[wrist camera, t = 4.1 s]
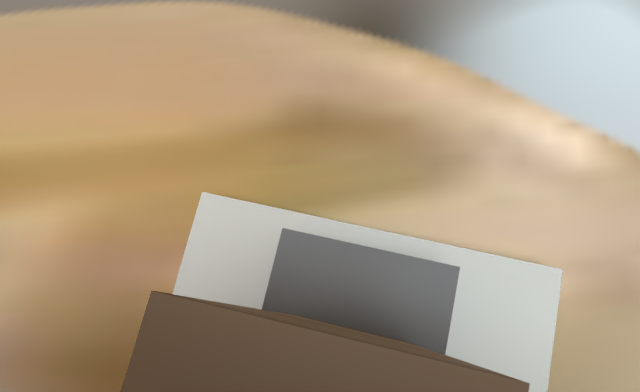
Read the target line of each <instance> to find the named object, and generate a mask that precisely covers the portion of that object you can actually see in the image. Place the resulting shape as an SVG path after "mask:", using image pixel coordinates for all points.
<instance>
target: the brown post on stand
mask: <svg viewBox="0 0 640 392" xmlns="http://www.w3.org/2000/svg"><path fill="white" fill-rule="evenodd" d="M459 271H460V267H458V266H453V265H449V264H444V263H440V262H435V261H431V260H426V259H422V258H417V257H412V256H408V255H403V254H399V253H394V252H390V251H385V250H381V249H376V248H372V247H367V246H362V245H358V244H353V243H349V242H344V241H340V240H335V239H331V238H326V237H322V236H317V235H312V234H308V233H303V232H299V231H294V230H290V229H285V228H282V231H281V235H280V239H279V243H278V247H277V251H276V255H275V259H274V263H273V267H272V271H271V275H270V279H269V283H268V286H267V290H266V294H265V298H264V302H263V306H262V309H256V308H250V307H244V306H238V305H232V304H226V303H221V302H215V301H209V300H203V299H197V298H191V297H185V296H180V295H174V294H168V293H162V292H156V291H151V294H150V298H149V301H148V304H147V307H146V311H145V314H144V317H143V321H142V324H141V327H140V330H139V334H138V337H137V340H136V343H135V347H134V350H133V353H132V357H131V360H130V363H129V366H128V370H127V373H126V376H125V379H124V383H123V386H122V389H121V392H529V385H530V383H527V382H524V381H521V380H518V379H515V378H512V377H509V376H506V375H503V374H500V373H497V372H495V371H492V370H489V369H486V368H483V367H480V366H477V365H474V364H471V363H468V362H465V361H462V360H459V359H456V358H453V357H450V356H447V355H445V353H446V347H447V341H448V336H449V330H450V324H451V318H452V312H453V306H454V300H455V294H456V289H457V283H458V277H459Z"/></svg>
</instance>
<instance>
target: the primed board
mask: <svg viewBox="0 0 640 392" xmlns="http://www.w3.org/2000/svg"><path fill="white" fill-rule="evenodd" d="M282 228H285V229H290V230H294V231H299V232H303V233H308V234H312V235H317V236H322V237H326V238H331V239H335V240H340V241H344V242H349V243H353V244H358V245H362V246H367V247H372V248H376V249H381V250H385V251H390V252H394V253H399V254H403V255H408V256H412V257H417V258H422V259H426V260H431V261H435V262H440V263H444V264H449V265H453V266H458V267H460V271H459V277H458V283H457V289H456V294H455V300H454V306H453V312H452V318H451V324H450V330H449V336H448V341H447V347H446V353H445V355H447V356H450V357H453V358H456V359H459V360H462V361H465V362H468V363H471V364H474V365H477V366H480V367H483V368H486V369H489V370H492V371H495V372H497V373H500V374H503V375H506V376H509V377H512V378H515V379H518V380H521V381H524V382H527V383H530V385H529V392H547V390H548V382H549V374H550V366H551V358H552V350H553V342H554V334H555V326H556V319H557V311H558V303H559V295H560V287H561V279H562V271H563V269H558V268H554V267H549V266H544V265H540V264H535V263H530V262H526V261H521V260H516V259H512V258H507V257H503V256H498V255H493V254H489V253H484V252H479V251H475V250H470V249H465V248H461V247H456V246H451V245H447V244H442V243H437V242H433V241H428V240H424V239H419V238H414V237H410V236H405V235H400V234H396V233H391V232H386V231H382V230H377V229H372V228H368V227H363V226H358V225H354V224H349V223H345V222H340V221H335V220H331V219H326V218H321V217H317V216H312V215H307V214H303V213H298V212H293V211H289V210H284V209H279V208H275V207H270V206H266V205H261V204H256V203H252V202H247V201H242V200H238V199H233V198H228V197H224V196H219V195H214V194H210V193H205V192H202V194H201V198H200V201H199V205H198V208H197V211H196V215H195V218H194V222H193V225H192V228H191V232H190V235H189V239H188V242H187V245H186V249H185V252H184V256H183V259H182V263H181V266H180V269H179V273H178V276H177V280H176V283H175V286H174V290H173V293H172V294H174V295H180V296H185V297H191V298H197V299H203V300H209V301H215V302H221V303H226V304H232V305H238V306H244V307H250V308H256V309H262V306H263V302H264V298H265V294H266V290H267V286H268V283H269V279H270V275H271V271H272V267H273V263H274V259H275V255H276V251H277V247H278V243H279V239H280V235H281V231H282Z"/></svg>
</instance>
